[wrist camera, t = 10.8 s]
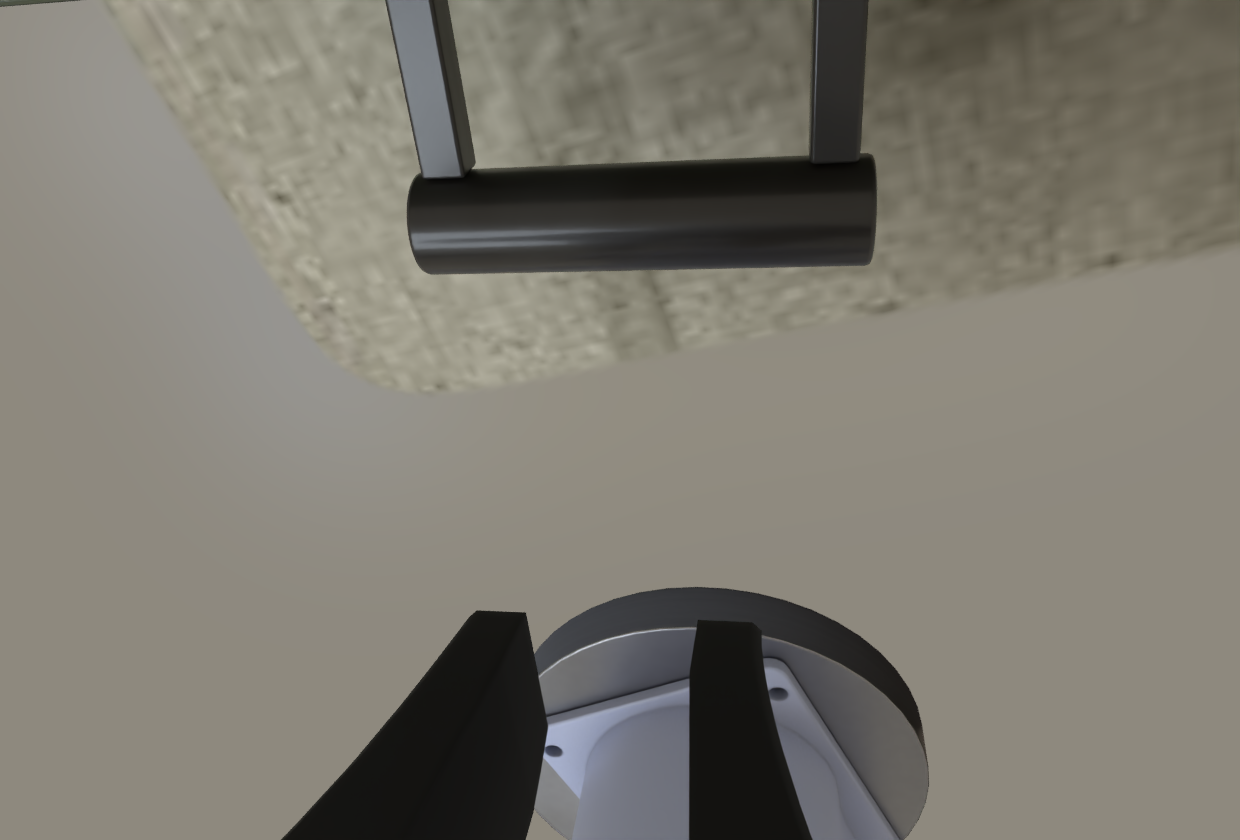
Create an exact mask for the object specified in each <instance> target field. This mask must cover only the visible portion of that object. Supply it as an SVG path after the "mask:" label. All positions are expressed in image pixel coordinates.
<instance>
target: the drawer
mask: <svg viewBox="0 0 1240 840" xmlns="http://www.w3.org/2000/svg"><path fill="white" fill-rule="evenodd" d="M65 1H78V0H0V7H2V6H15V5H27V4H40V3H53V2H65ZM385 1H386V6H387V11H388V15H389V20H390V25H391V30H392V35H393V39H394V44H395V49H396V54H397V59H398V64H399V68H400V73H401V78H402V83H403V88H404V92H405V97H406V102H407V107H408V112H409V116H410V121H411V126H412V131H413V136H414V140H415V145H416V150H417V155H418V160H419V165H420V169H421V173H419V174H417V175H416V176H415V178H414V179H413V181H412V183H411V186H410V190H409V194H408V201H407V227H408V235H409V240H410V245H411V249H412V252H413V255H414V257H415V260H416V262H417V264H418V265H419V267H420V268H421V269H422V270H423V271H424V272H426V273H428V274H432V275H438V274H486V273H534V272H582V271H630V270H678V269H726V268H774V267H822V266H865V265H867V264H870V262H871V259H872V256H873V251H874V244H875V233H876V216H877V176H876V165H875V160H874V157H873V155H872V154H869V153H860V150H861V131H862V113H863V94H864V75H865V56H866V38H867V19H868V0H812V29H811V72H810V116H809V156H784V157H759V158H735V159H710V160H686V161H661V162H637V163H612V164H588V165H563V166H539V167H514V168H490V169H472V168H473V167H474V165H475V163H476V161H475V155H474V149H473V143H472V138H471V132H470V126H469V120H468V115H467V109H466V103H465V97H464V92H463V86H462V80H461V74H460V69H459V63H458V57H457V51H456V46H455V40H454V34H453V29H452V23H451V17H450V11H449V6H448V0H385Z"/></svg>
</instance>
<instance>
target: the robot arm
mask: <svg viewBox="0 0 1240 840" xmlns="http://www.w3.org/2000/svg"><path fill="white" fill-rule="evenodd" d="M776 687H779V688H783V689H775V688H776ZM543 758H544V759H545V760H546V761H547V762H548V763H549V765H550V766H551V767H552V768H553V769H554V770H555V771H556V773H557V774H558V775H559V776H560V777H561V778H562V780H563V781H564V782H565V783H566V784H567V785H568V786H569V788H570V789H571V790H572V791H573V792H574V793H575V794H576V796H577V797H578V798H579V799H580V801H579V806H578V811H577V816H576V820H575V825H574V830H573V835H572V840H900V839H899V838H898V836H897V835H896V833H895V832H894V830H893V829H892V827H891V826H890V824H889V822H888V821H887V819H886V818H885V816H884V815H883V813H882V812H881V810H880V809H879V807H878V805H877V804H876V802H875V801H874V799H873V798H872V796H871V795H870V793H869V792H868V790H867V788H866V787H865V785H864V784H863V782H862V781H861V779H860V778H859V776H858V775H857V773H856V772H855V770H854V768H853V767H852V765H851V764H850V762H849V761H848V759H847V758H846V756H845V755H844V753H843V751H842V750H841V748H840V747H839V745H838V744H837V742H836V741H835V739H834V738H833V736H832V734H831V733H830V731H829V730H828V728H827V727H826V725H825V724H824V722H823V721H822V719H821V717H820V716H819V714H818V713H817V711H816V710H815V708H814V707H813V705H812V704H811V702H810V700H809V699H808V697H807V696H806V694H805V693H804V691H803V690H802V688H801V687H800V685H799V683H798V682H797V680H796V679H795V677H794V676H793V674H792V673H791V671H790V670H789V668H788V667H787V666H786V665H785V664H784V663H783V662H782V661H779V660H777V659H773V658H763V653H762V630H760V629H759V628H758V627H757V626H756V625H754V624H753V623H752V622H730V621H707V620H698V624H697V629H696V635H695V641H694V646H693V653H692V660H691V666H690V673H689V679H685V680H682V681H678V682H674V683H671V684H667V685H663V686H660V687H656V688H652V689H649V690H645V691H641V692H637V693H634V694H630V695H626V696H623V697H619V698H615V699H612V700H608V701H604V702H601V703H597V704H593V705H590V706H586V707H582V708H579V709H575V710H571V711H568V712H564V713H560V714H557V715H553V716H549V717H546V712H545V707H544V702H543V697H542V692H541V687H540V682H539V677H538V672H537V667H536V662H535V657H534V652H533V647H532V642H531V636H530V631H529V626H528V621H527V616H526V613H522V612H499V611H497V612H496V611H476V612H475V613H473V615H471V616H470V617H469V618H468V619H467V621H466V622H465V623H464V625H463V626H462V627H461V629H460V630H459V631H458V633H457V634H456V635H455V637H454V638H453V639H452V640H451V642H450V643H449V644H448V646H447V647H446V648H445V650H444V651H443V652H442V654H441V655H440V656H439V657H438V659H437V660H436V661H435V663H434V664H433V665H432V666H431V668H430V669H429V670H428V672H427V673H426V674H425V675H424V677H423V678H422V679H421V680H420V682H419V683H418V684H417V685H416V687H415V688H414V689H413V691H412V692H411V693H410V694H409V696H408V697H407V698H406V699H405V701H404V702H403V703H402V704H401V706H400V707H399V708H398V709H397V710H396V712H395V713H394V714H393V715H392V716H391V717H390V719H389V720H388V721H387V722H386V723H385V725H384V726H383V727H382V728H381V729H380V731H379V732H378V733H377V734H376V735H375V737H374V738H373V739H372V740H371V741H370V743H369V744H368V745H367V746H366V747H365V749H364V750H363V751H362V752H361V754H359V756H358V757H357V758H356V759H355V760H354V762H352V764H351V765H350V766H349V767H348V768H347V769H346V771H345V772H344V773H343V774H342V775H341V776H340V777H339V778H338V779H337V780H336V782H334V784H333V785H332V786H331V787H330V788H329V789H328V790H327V791H326V792H325V793H324V794H323V795H322V797H321V798H320V799H319V800H318V801H317V802H316V803H315V804H314V805H313V806H312V808H311V809H310V810H309V811H308V812H307V813H306V814H305V815H304V816H303V817H302V818H301V820H300V821H299V822H298V823H297V824H296V825H295V826H294V827H293V828H292V829H291V830H290V831H289V832H288V833H287V834H286V835H285V836H284V837H283V838H282V839H281V840H526V836H527V833H528V829H529V826H530V822H531V818H532V815H533V811H534V806H535V801H536V795H537V790H538V785H539V779H540V774H541V768H542V762H543Z"/></svg>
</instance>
